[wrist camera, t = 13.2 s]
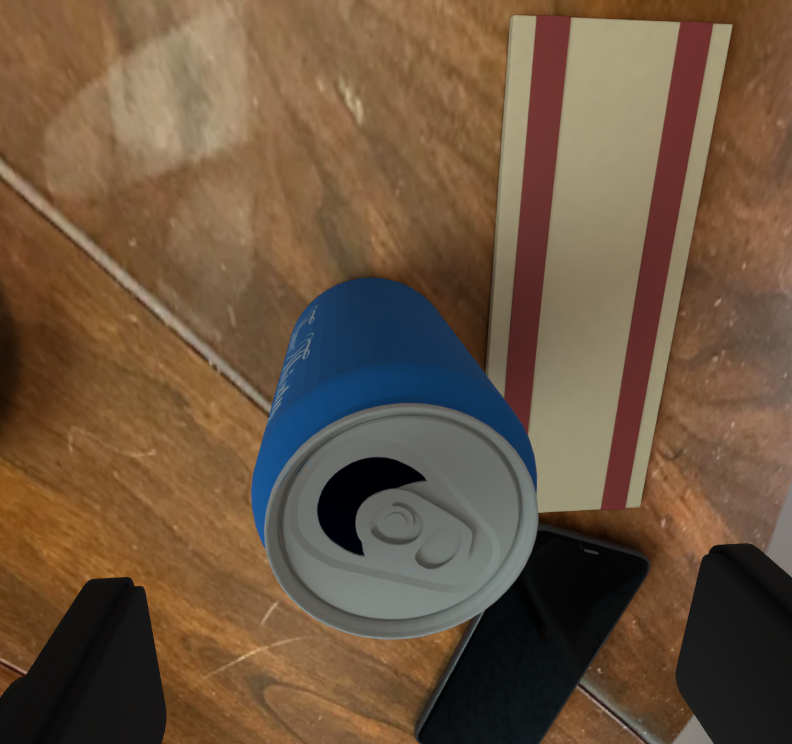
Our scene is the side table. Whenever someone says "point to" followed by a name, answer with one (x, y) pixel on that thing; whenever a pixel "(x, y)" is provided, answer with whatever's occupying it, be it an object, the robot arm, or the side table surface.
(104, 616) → the robot arm
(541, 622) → the smartphone
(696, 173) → the tea towel
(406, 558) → the beverage can
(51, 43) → the side table surface
